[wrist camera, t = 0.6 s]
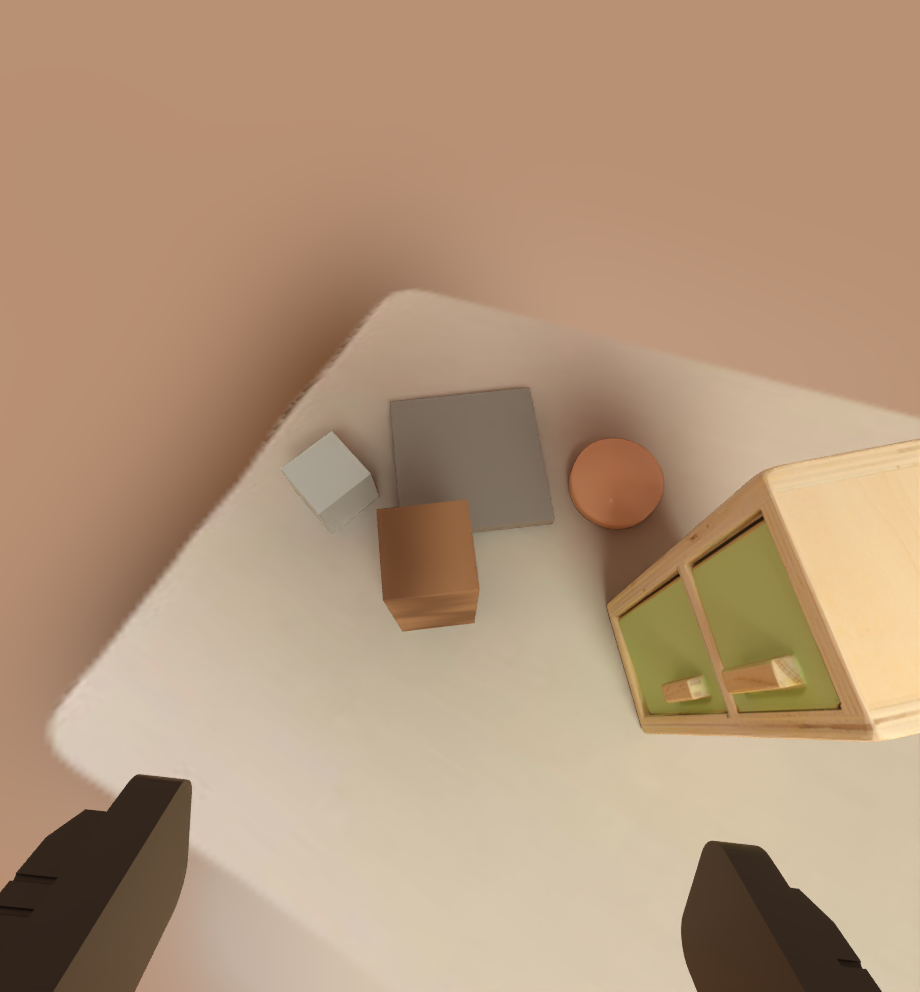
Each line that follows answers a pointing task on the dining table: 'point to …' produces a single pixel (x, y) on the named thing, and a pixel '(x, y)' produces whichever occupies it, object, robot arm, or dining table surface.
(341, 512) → the grey cube
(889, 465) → the toy refrigerator
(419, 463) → the slate coaster
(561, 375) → the dining table surface
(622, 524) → the orange disc
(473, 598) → the walnut block
